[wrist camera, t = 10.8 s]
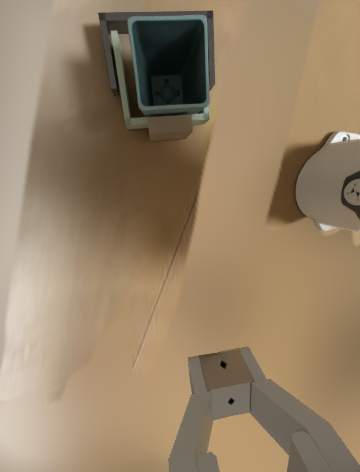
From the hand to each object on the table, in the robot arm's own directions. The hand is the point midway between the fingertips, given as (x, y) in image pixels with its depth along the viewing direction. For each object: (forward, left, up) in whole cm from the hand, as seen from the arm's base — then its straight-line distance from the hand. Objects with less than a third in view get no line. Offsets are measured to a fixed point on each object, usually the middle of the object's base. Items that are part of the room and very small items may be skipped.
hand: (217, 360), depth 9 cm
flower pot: (-2, -21, -29) cm, 36 cm away
